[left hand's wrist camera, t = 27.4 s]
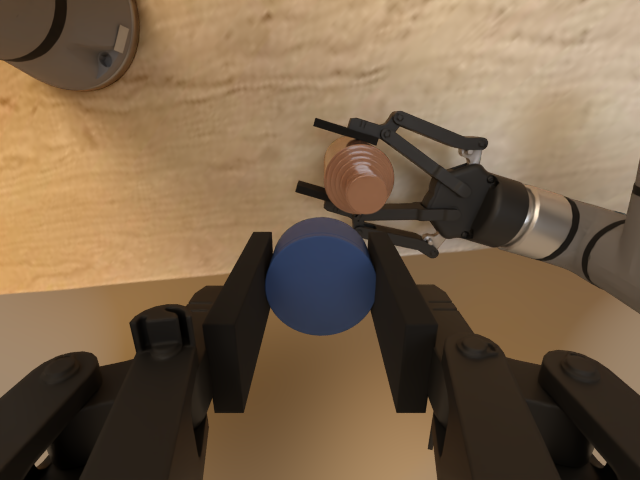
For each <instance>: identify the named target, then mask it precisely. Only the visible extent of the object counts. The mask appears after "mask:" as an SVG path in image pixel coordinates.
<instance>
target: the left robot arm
mask: <svg viewBox="0 0 640 480" xmlns="http://www.w3.org/2000/svg"><path fill="white" fill-rule="evenodd" d="M138 39H139V18H138V11H137V6H136V2H135V0H0V60H4V61H5V62H7V63H9V64H11V65H12V66H14V67H16V68H18V69H19V70H21V71H23V72H25V73H26V74H28V75H30V76H32V77H33V78H35V79H37V80H39V81H41V82H44V83H46V84H49V85H52V86H55V87H58V88H62V89H68V90H77V91H91V90H97V89H101V88H104V87H106V86H108V85H110V84H112V83H114V82H115V81H116V80H118V79H119V78H120V77H121V76H122V75H123V74H124V73H125V71H126V70H127V69H128V67H129V66H130V64H131V62H132V60H133V58H134V55H135V53H136V49H137V45H138ZM368 252H369V255H370V258H371V261H372V263H373V266H374V269H375V273H376V285H375V300H374V304H373V306H372V308H371V309H370V310H371V314H372V318H373V322H374V326H375V330H376V334H377V338H378V342H379V345H380V349H381V353H382V357H383V361H384V365H385V369H386V373H387V377H388V381H389V385H390V389H391V393H392V396H393V401H394V404H395V408H396V412H397V413H425V412H426V406H427V399H428V398H429V400H430V403H431V405H432V408H433V411H434V412H433V418H432V425H431V431H430V438H429V444H428V449H430V450H432V449H433V446H434V454H435V463H436V471H437V480H640V395H639V394H637V393H636V392H635V391H634V390H633V389H632V388H630V387H629V386H628V385H627V384H626V383H624V382H623V381H622V380H621V379H620V378H619V377H617V376H616V375H615V374H614V373H613V372H612V371H610V370H609V369H608V368H606V367H605V366H603V365H602V364H600V363H599V362H598V361H596V360H593V359H591V358H589V357H587V356H585V355H583V354H580V353H576V352H572V351H564V350H555V351H549V352H548V353H547V354H546V355H544V357H543V361H542V364H541V365H538V364H533V363H528V362H523V361H519V360H514V359H511V358H507V357H505V354H504V352H503V351H502V350H501V348H500V347H499V346H498V345H497V344H495V343H494V342H493V341H491V340H490V339H488V338H486V337H483V336H481V335H478V334H474V333H473V331H472V330H471V328H470V327H469V325H468V324H467V323H466V321H465V320H464V318H463V317H462V315H461V314H460V312H459V311H457V308H456V307H455V305H454V304H453V303H452V301H451V300H450V298H449V297H448V295H447V294H446V292H444V291H443V290H441V289H440V288H438V287H437V286H435V285H416V284H415V282H414V280H413V278H412V277H411V275H410V273H409V271H408V269H407V267H406V266H405V264H404V262H403V260H402V259H401V257H400V255H399V253H398V251H397V249H396V248H395V246H394V244H393V242H392V240H391V239H390V237H389V235H388V233H387V232H368ZM272 256H273V247H272V232H253V234H252V236H251V237H250V239H249V241H248V243H247V245H246V246H245V248H244V250H243V252H242V254H241V255H240V257H239V259H238V261H237V263H236V264H235V266H234V268H233V270H232V272H231V273H230V275H229V277H228V279H227V281H226V282H225V284H224V286H205V287H204V288H202V289H201V290H199V291H198V292H196V293H195V294H194V295H193V297H192V298H191V300H190V301H189V304H187V306H182V305H178V304H166V305H161V306H156V307H153V308H150V309H148V310H145V311H143V312H141V313H140V314H138V315H137V316H135V317H134V318H133V319H132V320H131V322H130V328H131V332H132V336H133V340H134V345H135V349H136V355H135V357H134V359H132V360H128V361H124V362H119V363H115V364H110V365H105V366H100V367H99V363H98V360H97V357H96V356H95V355H93V354H92V353H89V352H72V353H67V354H64V355H60V356H57V357H55V358H53V359H51V360H49V361H47V362H44V363H43V364H41V365H40V366H38V367H37V368H35V369H34V370H33V371H31V372H30V373H29V374H28V375H27V376H25V377H24V378H23V379H22V380H21V381H20V382H18V383H17V384H16V385H15V386H14V387H13V388H11V389H10V390H9V391H8V392H7V393H6V394H4V395H3V396H2V397H1V398H0V480H203V472H204V464H205V455H206V446H207V438H208V429H209V426H208V418H207V410H208V408H209V405H210V402H211V400H212V397H213V404H214V411H215V413H244V409H245V405H246V401H247V398H248V394H249V390H250V386H251V382H252V378H253V374H254V370H255V366H256V362H257V358H258V354H259V350H260V346H261V342H262V338H263V334H264V331H265V327H266V323H267V319H268V315H269V311H270V305H269V303H268V301H267V297H266V293H265V278H266V274H267V271H268V268H269V265H270V262H271V259H272ZM594 448H595V449H596V450H597V451H598V452H599V453H600V455H601V456H602V457H603V458H604V459H605V461H606V462H607V463H606V465H605V466H604V465H602V464H601V463H600V462H599V461H598V460H597V459H596V458H595V456H594V455H593V454H592V452H593V450H594ZM46 449H47V451H48V454H49V455H48V456H47V458H46V459H45V460H44V461H43V462H42V463H41V464H40V465H39V466H37V467H36V466H35V465H34V464H35V462H36V461H37V460H38V459H39V458H40V456H41V455H42V454H43V453H44V452H45V451H46Z"/></svg>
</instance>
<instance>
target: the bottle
mask: <svg viewBox="0 0 640 480" xmlns="http://www.w3.org/2000/svg"><path fill="white" fill-rule="evenodd" d="M324 185H325V190H326V193H327V195H328V197H329V199H330V200H331V202H332V203H333V204H334V205H335V206H336V207H338V208H339V209H341V210H343V211H345V212H347V213H351V214H360V215H361V214H372V213H375V212H377V211H378V210H380V209H381V208H382V207H383V206H384V204H385V202H386V200H387V199H388V197H389V196H390V194H391V191H392V189H393V185H394V171H393V167H392V165H391V162H390V161H389V159H388V158H387V156H386V155H385V154H384V153H383V152H382V151H380V150H379V149H377V148H375V147H374V146H372V145H370V144H368V143H367V142H364V141H360V140H357V139H354V138H351V137H347V136H345V137H341V138H339V139H337V140H335V141H334V142H333V143H332V144H331V145H330V146H329V147H328V149H327V151H326V153H325V157H324Z"/></svg>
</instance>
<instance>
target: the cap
mask: <svg viewBox="0 0 640 480" xmlns="http://www.w3.org/2000/svg"><path fill="white" fill-rule="evenodd" d="M375 285H376V273H375V269H374V266H373V263H372V261H371V258H370V255H369V252H368V249H367V246H366V244H365V242H364V240H363V239H362V237H361V236H360V235H359V234H358V232H357V231H356V230H354V229H353V228H352V227H351V226H349V225H348V224H346V223H344V222H342V221H339V220H336V219H332V218H325V217H317V218H310V219H306V220H303V221H301V222H298V223H296V224H295V225H293V226H292V227H290V228H289V229H288V230H287V231H286V232H285V233H284V234H283V235H282V236H281V238H280V239H279V240H278V242H277V244H276V247H275V250H274V253H273V256H272V259H271V262H270V265H269V268H268V271H267V274H266V278H265V293H266V297H267V301H268V303H269V305H270V307H271V309H272V310H273V312H274V313H275V315H276V316H277V317H278V318H279V319H280V320H281V321H282V322H283V323H285V324H286V325H287V326H289V327H291V328H292V329H294V330H297V331H299V332H302V333H305V334H310V335H319V336H322V335H332V334H337V333H340V332H343V331H346V330H348V329H350V328H352V327H353V326H355V325H356V324H358V323H359V322H360V321H361V320H362V319H363V318H364V317H365V316H366V315H367V314H368V312H369V311H370V309H371V308H372V306H373V304H374V300H375Z"/></svg>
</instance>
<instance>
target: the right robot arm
mask: <svg viewBox="0 0 640 480" xmlns="http://www.w3.org/2000/svg"><path fill="white" fill-rule="evenodd" d="M313 126H315V127H319V128H322V129H325V130H328V131H331V132H335V133H338V134H341V135H344V136H347V137H351V138H354V139H357V140H360V141H364V142H367V143H370V144H373V145H377V142H378V139H381V140H383V141H384V142H385V143H387V144H388V145H390V146H391V147H392V148H394V149H395V150H396V151H398V152H399V153H400V154H402V155H403V156H404V157H406V158H407V159H409V160H410V161H411V162H413V163H414V164H415V165H417V166H418V167H419V168H421V169H422V170H423V171H425V172H426V173H427V174H429V175H430V176H431V177H432V179H431V181H430V184H429V191H428V192H427V194H426V195H425V197H424V199H423V201H422V202H413V203H406V204H384V206H383V207H382V208H381V209H380V210H378V211H377V212H375V213H372V214H361V215H360V214H351V213H347V212H345V211H343V210H341V209H339V208H338V207H336V206H335V205H334V204H333V203H332V202H331V200H330V199H329V197H328V195H327V193H326V190H325V188H323V187H320V186H316V185H313V184H309V183H306V182H303V181H299V182H298V184H297V188H296V191H295V192H297V193H301V194H304V195H308V196H311V197H315V198H318V199H321V200H325V202H324V208H325V209H326V210H327V211H330V212H333V213H337V214H340V215H344V216H347V217H350V218H351V219H352V228H353V229H354V230H356V231H357V232H358V234H359V235H360V236H361V237H362V238H363V239H368V232H387V233H388V235H389V237H390V239H391V240H392V242H393V244H394V245H396V246H401V247H406V248H411V249H415V250H419V251H420V252H422V253H423V254H425V255H427V256H428V257H430V258H436V257H437V256H438V254H439V252H438V250H437V249H438V248H439V247H440V245H441V244H442V243H443V242H444V240H445V239H452V238H462V239H466V240H469V241H473V242H476V243H480V244H483V245H486V246H490V247H497V248H499V249H501V250H504V251H508V252H511V253H514V254H518V255H521V256H525V257H528V258H532V259H536V260H540V261H543V262H546V263H549V264H552V265H556V266H559V267H562V268H564V269H567V270H569V271H571V272H573V273H575V274H577V275H578V276H580V277H581V278H583V279H585V280H586V281H588V282H589V283H591V284H593V285H595V286H597V287H598V288H601V289H603V290H605V291H606V292H608V293H609V294H611V295H612V296H614V297H615V298H617V299H618V300H620V301H621V302H623V303H624V304H626V305H627V306H629V307H630V308H632V309H633V310H635V311H636V312H638V313H639V314H640V160H639V166H638V171H637V176H636V181H635V183H634V186H633V190H632V194H631V199H630V203H629V207H628V211H627V215H626V214H625V213H621V212H617V211H611V210H608V209H604V208H601V207H598V206H594V205H591V204H587V203H584V202H580V201H577V200H573V199H570V198H567V197H565V196H563V195H560V194H557V193H553V192H550V191H547V190H544V189H541V188H537V187H534V186H531V185H524V184H522V183H521V182H518V181H515V180H512V179H508V178H505V177H502V176H499V175H496V174H492V173H489V172H487V171H486V170H485V169H484V167H483V166H482V165H480V159H481V153H482V150H484V149H485V148H486V147H487V145H488V141H487V139H486V138H482V137H474V136H461V135H459V134H456V133H454V132H451V131H449V130H447V129H444V128H442V127H439V126H437V125H434V124H432V123H430V122H427V121H425V120H422V119H420V118H417V117H415V116H412V115H410V114H408V113H405V112H403V111H395V112H392V113H391V114H390V116H389V118H388V119H387V120H386V122H385V123H384V124H382V125H378V124H374V123H371V122H368V121H365V120H362V119H359V118H350V121H349V124H348V127H347V128H346V127H343V126H340V125H337V124H334V123H330V122H327V121H324V120H321V119H318V118H315V122H314V125H313ZM399 127H403V128H405V129H408V130H410V131H413V132H415V133H418V134H420V135H422V136H425V137H427V138H430V139H432V140H435V141H437V142H440V143H442V144H445V145H447V146H450V147H454V148H458V153H459V155H460V156H463V157H465V158H466V160H467V163H465V164H462V165H459V166H456V167H453V168H450V169H447V170H446V169H444V168H443V167H441V166H440V165H438V164H437V163H436V162H434V161H433V160H432V159H430V158H429V157H428V156H426V155H425V154H424V153H422V152H421V151H420V150H418V149H417V148H416V147H414V146H413V145H412V144H410V143H409V142H408V141H406V140H405V139H404V138H402V137H401V136H400V135H398V134H397V133H396V130H397V129H398V128H399ZM375 220H419V221H430V222H431V223H432V225H433V226H434V228H435V229H436V231H437V232H436V233H434V234H429V233H425V234H423V235H422V236H420V235H419V234H416V233H413V232H408V231H404V230H399V229H394V228H390V227H385V226H381V225H376V224H371V223H367V222H364V221H375Z"/></svg>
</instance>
